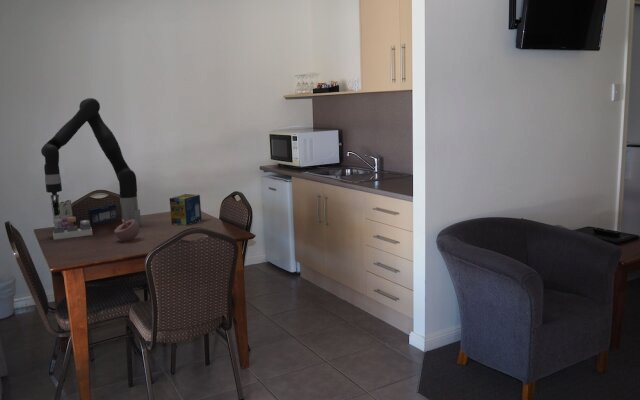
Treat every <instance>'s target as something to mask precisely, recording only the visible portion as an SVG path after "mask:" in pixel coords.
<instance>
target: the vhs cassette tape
mask: <svg viewBox="0 0 640 400" xmlns="http://www.w3.org/2000/svg"><path fill="white" fill-rule="evenodd" d="M87 211H88V213H87V214H88V220H89V224H90V226H91V227H96V226H100V225H101V226H102V225H104V224H109V223H110V224H111V223H112V222H117V221H118V220H119V219H118V218H119V217H118V210H117V204H109V205H103V206H100V207H96V208H90V209H88V210H87Z"/></svg>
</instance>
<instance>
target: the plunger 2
mask: <svg viewBox="0 0 640 400" xmlns="http://www.w3.org/2000/svg"><path fill="white" fill-rule="evenodd" d="M80 225H81V226H87V225H90V222H89V219H83V220H80Z"/></svg>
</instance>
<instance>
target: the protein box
mask: <svg viewBox="0 0 640 400" xmlns="http://www.w3.org/2000/svg"><path fill="white" fill-rule="evenodd" d="M169 207H170V219H171V220H170V221H171V225H172V224H177V225H176V226H189V225H191V224H190V223H192V224H194V223H193V222H195V221H198V222H200V221H199V220H201V219H202V207H201V195H200V194H193V193H192V194H191V193H190V194H189V193H184V194H182V195H181V194H179V195H178V196H177V195H176V196H174V197H170V198H169ZM201 221H202V220H201ZM195 223H196V222H195ZM188 224H189V225H188Z"/></svg>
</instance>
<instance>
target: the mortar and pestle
mask: <svg viewBox="0 0 640 400" xmlns="http://www.w3.org/2000/svg"><path fill="white" fill-rule="evenodd" d="M121 222H123V223H122V224H119V225H118V226H117V227H116V228H115V229H114V231H113V232H114V235H115V236H116V238H117V239H119V240H121V241H123V242H129V241H132V240H134V239H135V238H136V237H138V234H139V233H140V226H139V225H138V223H137V222H136V221H135V220H134V219H131V220H128V221H126V222H125V221H124V220H123V219H122V218H121Z"/></svg>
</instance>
